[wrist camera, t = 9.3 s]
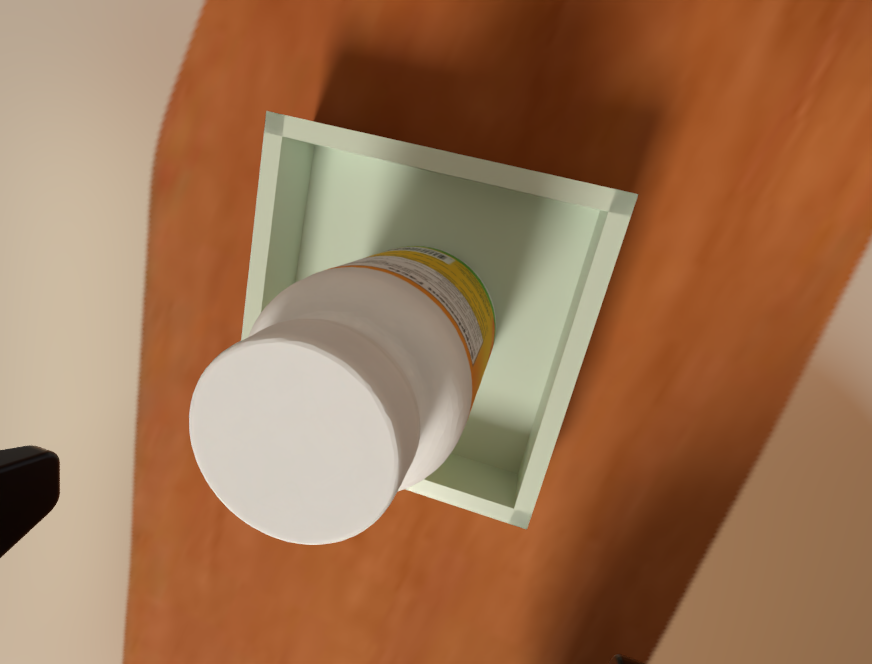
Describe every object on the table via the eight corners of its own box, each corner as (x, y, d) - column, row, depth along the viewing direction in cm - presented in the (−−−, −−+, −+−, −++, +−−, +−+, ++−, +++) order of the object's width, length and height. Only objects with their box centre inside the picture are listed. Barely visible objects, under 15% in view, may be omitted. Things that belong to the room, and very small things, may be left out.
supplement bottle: (408, 415, 19) (276, 622, 9) (323, 299, 18) (98, 400, 9) (528, 341, 17) (509, 506, 8) (438, 211, 16) (304, 223, 7)
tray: (529, 481, 19) (526, 529, 16) (274, 400, 21) (231, 431, 18) (621, 196, 16) (638, 194, 13) (311, 126, 18) (266, 111, 15)
